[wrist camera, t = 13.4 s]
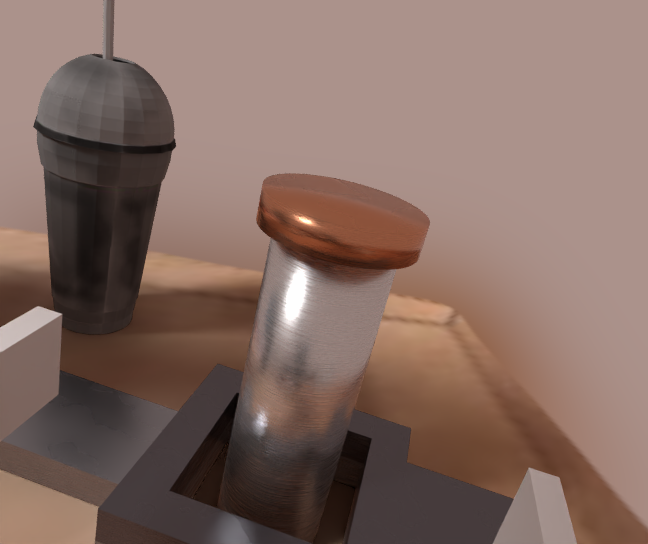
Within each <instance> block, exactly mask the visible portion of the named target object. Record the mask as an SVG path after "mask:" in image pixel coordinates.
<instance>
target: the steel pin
mask: <svg viewBox="0 0 648 544" xmlns="http://www.w3.org/2000/svg"><path fill="white" fill-rule="evenodd" d="M256 221H257V224H258V226H259V227H260V229H261V230H262V231H263V232H264V233H265V234H267V235H268V236H269V237H271V240H270V244H269V249H268V254H267V260H266V264H265V269H264V274H263V279H262V284H261V289H260V294H259V299H258V304H257V309H256V314H255V319H254V324H253V329H252V334H251V339H250V344H249V349H248V354H247V359H246V364H245V369H244V373H243V378H242V383H241V388H240V393H239V398H238V403H237V408H236V413H235V418H234V423H233V428H232V433H231V438H230V443H229V448H228V453H227V458H226V463H225V468H224V473H223V478H222V483H221V488H220V493H219V498H218V503H217V508H218V509H220V510H223V511H226V512H228V513H231V514H234V515H237V516H239V517H242V518H245V519H247V520H250V521H253V522H255V523H258V524H261V525H264V526H266V527H269V528H272V529H274V530H277V531H280V532H282V533H285V534H288V535H291V536H293V537H296V538H299V539H301V540H304V541H307V542H309V543H312V542H313V541H314V539H315V537H316V534H317V531H318V527H319V524H320V521H321V517H322V514H323V511H324V508H325V504H326V501H327V498H328V494H329V491H330V488H331V484H332V481H333V478H334V474H335V471H336V468H337V464H338V461H339V458H340V454H341V451H342V448H343V445H344V441H345V438H346V435H347V431H348V428H349V425H350V421H351V418H352V415H353V411H354V408H355V405H356V401H357V398H358V395H359V392H360V388H361V385H362V382H363V378H364V375H365V372H366V368H367V365H368V362H369V358H370V355H371V352H372V348H373V345H374V342H375V339H376V335H377V332H378V329H379V325H380V322H381V319H382V315H383V312H384V309H385V305H386V302H387V299H388V295H389V292H390V289H391V286H392V282H393V279H394V276H395V272H396V269H401V268H405V267H409V266H411V265H413V264H414V263H416V262H417V261H418V259H419V256H420V253H421V250H422V247H423V244H424V241H425V237H426V234H427V231H428V228H429V225H430V221H429V218H428V217H427V216H426V214H424V213H423V212H422V211H421V210H420V209H418V208H416V207H415V206H413V205H412V204H410V203H408V202H406V201H404V200H402V199H400V198H398V197H395V196H393V195H391V194H388V193H385V192H383V191H380V190H377V189H374V188H371V187H368V186H364V185H361V184H357V183H353V182H349V181H345V180H340V179H336V178H330V177H324V176H317V175H308V174H277V175H272V176H269V177H267V178H266V179H265V180H264V181H263V185H262V191H261V196H260V202H259V207H258V212H257V218H256Z"/></svg>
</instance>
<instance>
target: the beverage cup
mask: <svg viewBox="0 0 648 544" xmlns="http://www.w3.org/2000/svg"><path fill="white" fill-rule="evenodd" d="M103 9H104V12H103V55H100V54H90V55H85V56H81V57H78V58H76V59H74V60H71V61H70V62H68V63H66V64H65V65H63V66H62V67H61V68H60V69H59V70H58V71H57V72H56V73H55V74H54V75H53V76H52V77H51V79H50V80H49V82H48V83H47V85H46V87H45V89H44V91H43V94H42V96H41V100H40V104H39V107H38V115H37V117H36V120H35V123H34V126H33V127H34V128H35V129H36V130H37V144H38V150H39V155H40V160H41V164H42V165H43V166H44V179H45V195H46V210H47V226H48V242H49V258H50V273H51V289H52V296H53V301H54V308H55V312H58V313H61V314H62V326H63V327H64V328H66V329H69V330H72V331H74V332H79V333H85V334H105V333H111V332H115V331H118V330H120V329H123V328H124V327H126V326H127V325H128V324H129V323H130V321H131V319H132V313H133V309H134V306H135V302H136V299H137V297H138V293H139V288H140V283H141V278H142V274H143V269H144V264H145V259H146V254H147V250H148V244H149V240H150V235H151V230H152V225H153V221H154V216H155V211H156V206H157V201H158V197H159V192H160V187H161V182H162V181H163V179H164V178H165V175H166V172H167V169H168V166H169V163H170V159H171V153H172V150H173V149H174V148H175V147H176V143H175V139H174V121H173V115H172V111H171V107H170V105H169V103H168V100H167V97H166V96H165V94H164V92H163V91H162V89H161V87H160V86H159V85H158V83H157V82H156V81H155V79H153V77H152V76H151V75H150V74H149V73H148V72H147V71H146V70H145V69H143V68H142V67H140V66H139V65H137V64H136V63H134V62H132V61H129V60H125V59H121V58H117V57H113V35H114V34H113V33H114V0H104V8H103Z"/></svg>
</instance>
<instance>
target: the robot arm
mask: <svg viewBox="0 0 648 544" xmlns="http://www.w3.org/2000/svg"><path fill="white" fill-rule="evenodd" d="M61 332H62V314H61V313H58V312H55V311H51V310H48V309H45V308H42V307H39V306H37V307H35V308H34V309H32V310H30V311H28V312H27V313H25V314H23V315H21V316H20V317H18V318H16V319H14V320H12V321H11V322H9V323H7V324H5V325H4V326H2V327H0V442H1V441H2V440H3V439H4V438H6V437H7V436H8V435H9V434H11V433H12V432H13V431H14V430H15V429H17V428H18V427H19V426H20V425H22V424H23V423H24V422H25V421H26V420H28V419H29V418H30V417H31V416H33V415H34V414H35V413H36V412H37V411H39V410H40V409H41V408H42V407H44V406H45V405H46V404H47V403H48V402H50V401H51V400H52V399H53V398H55V397H56V396H57V395H58V393H59V373H60V352H61ZM493 544H577V541H576V538H575V534H574V530H573V526H572V523H571V519H570V515H569V511H568V508H567V504H566V500H565V497H564V493H563V489H562V485H561V482H560V478H559V477H557V476H553V475H550V474H547V473H544V472H541V471H538V470H535V469H532V468H528V471H527V473H526V475H525V477H524V479H523V481H522V483H521V485H520V487H519V489H518V491H517V494H516V496H515V498H514V500H513V502H512V504H511V506H510V508H509V510H508V512H507V515H506V517H505V519H504V521H503V523H502V525H501V527H500V529H499V531H498V533H497V536H496V538H495V540H494V542H493Z"/></svg>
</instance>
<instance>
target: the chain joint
mask: <svg viewBox="0 0 648 544" xmlns="http://www.w3.org/2000/svg"><path fill="white" fill-rule="evenodd" d="M243 373H244V372H241V371H238V370H235V369H232V368H229V367H226V366H223V365H220V364H217V365H216V366H215V368H214V369H213V370H212V371H211V372H210V374H209V375H208V376H207V377H206V379H205V380H204V381H203V382H202V383H201V385H200V386H199V387H198V388H197V389H196V391H195V392H194V393H193V394H192V395H191V397H190V398H189V399H188V400H187V402H186V403H185V404H184V405H183V406H182V408H181V409H180V410H179V411H175V410H173V409H170V408H167V407H164V406H161V405H158V404H155V403H153V402H150V401H147V400H144V399H141V398H138V397H135V396H133V395H130V394H127V393H124V392H121V391H118V390H115V389H113V388H110V387H107V386H104V385H101V384H98V383H95V382H93V381H90V380H87V379H84V378H81V377H78V376H75V375H73V374H70V373H67V372H64V371H61V370H60V373H59V393H58V395H57V396H56V397H55V398H53V399H52V400H51V401H50V402H48V403H47V404H46V405H45V406H44V407H42V408H41V409H40V410H39V411H37V412H36V413H35V414H34V415H33V416H31V417H30V418H29V419H28V420H26V421H25V422H24V423H23V424H22V425H20V426H19V427H18V428H17V429H15V430H14V431H13V432H12V433H11V434H9V435H8V436H7V437H6V438H4V439H3V440H2V441H1V442H0V469H2V470H5V471H7V472H10V473H13V474H15V475H18V476H20V477H23V478H26V479H28V480H31V481H34V482H36V483H39V484H41V485H44V486H47V487H49V488H52V489H55V490H57V491H60V492H62V493H65V494H68V495H70V496H73V497H76V498H78V499H81V500H83V501H86V502H89V503H91V504H94V505H97V506H99V508H98V516H97V527H96V538H95V544H312V543H309V542H307V541H304V540H301V539H299V538H296V537H293V536H291V535H288V534H285V533H282V532H280V531H277V530H274V529H272V528H269V527H266V526H264V525H261V524H258V523H255V522H253V521H250V520H247V519H245V518H242V517H239V516H237V515H234V514H231V513H228V512H226V511H223V510H220V509H218V508H215V507H212V506H210V505H207V504H204V503H201V502H199V501H196V500H193V499H192V497H193V496H194V494H195V493H196V491H197V489H198V488H199V486H200V485H201V483H202V481H203V480H204V478H205V477H206V475H207V473H208V472H209V470H210V469H211V467H212V465H213V464H214V462H215V461H216V459H217V457H218V456H219V454H220V453H221V451H222V449H223V448H224V446H225V444H226V443H230V438H231V433H232V428H233V423H234V418H235V413H236V408H237V403H238V398H239V393H240V388H241V383H242V378H243ZM410 433H411V428H408V427H405V426H402V425H399V424H396V423H393V422H390V421H387V420H384V419H381V418H379V417H376V416H373V415H370V414H367V413H364V412H361V411H358V410H355V409H354V411H353V415H352V418H351V421H350V425H349V428H348V431H347V435H346V438H345V441H344V445H343V448H342V451H341V454H340V458H339V461H338V464H337V468H336V471H335V474H334V478H333V480H335V481H337V482H340V483H343V484H346V485H349V486H352V487H354V488H356V489H355V493H354V497H353V501H352V505H351V509H350V514H349V518H348V522H347V526H346V530H345V534H344V538H343V542H342V544H493V542H494V540H495V538H496V536H497V533H498V531H499V529H500V527H501V525H502V523H503V521H504V519H505V517H506V515H507V512H508V510H509V508H510V506H511V504H512V502H513V500H514V499H512V498H509V497H506V496H503V495H501V494H498V493H495V492H492V491H489V490H486V489H483V488H480V487H477V486H474V485H471V484H468V483H466V482H463V481H460V480H457V479H454V478H451V477H448V476H445V475H442V474H439V473H436V472H433V471H431V470H428V469H425V468H422V467H419V466H416V465H413V464H410V463H407V456H408V448H409V441H410Z"/></svg>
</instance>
